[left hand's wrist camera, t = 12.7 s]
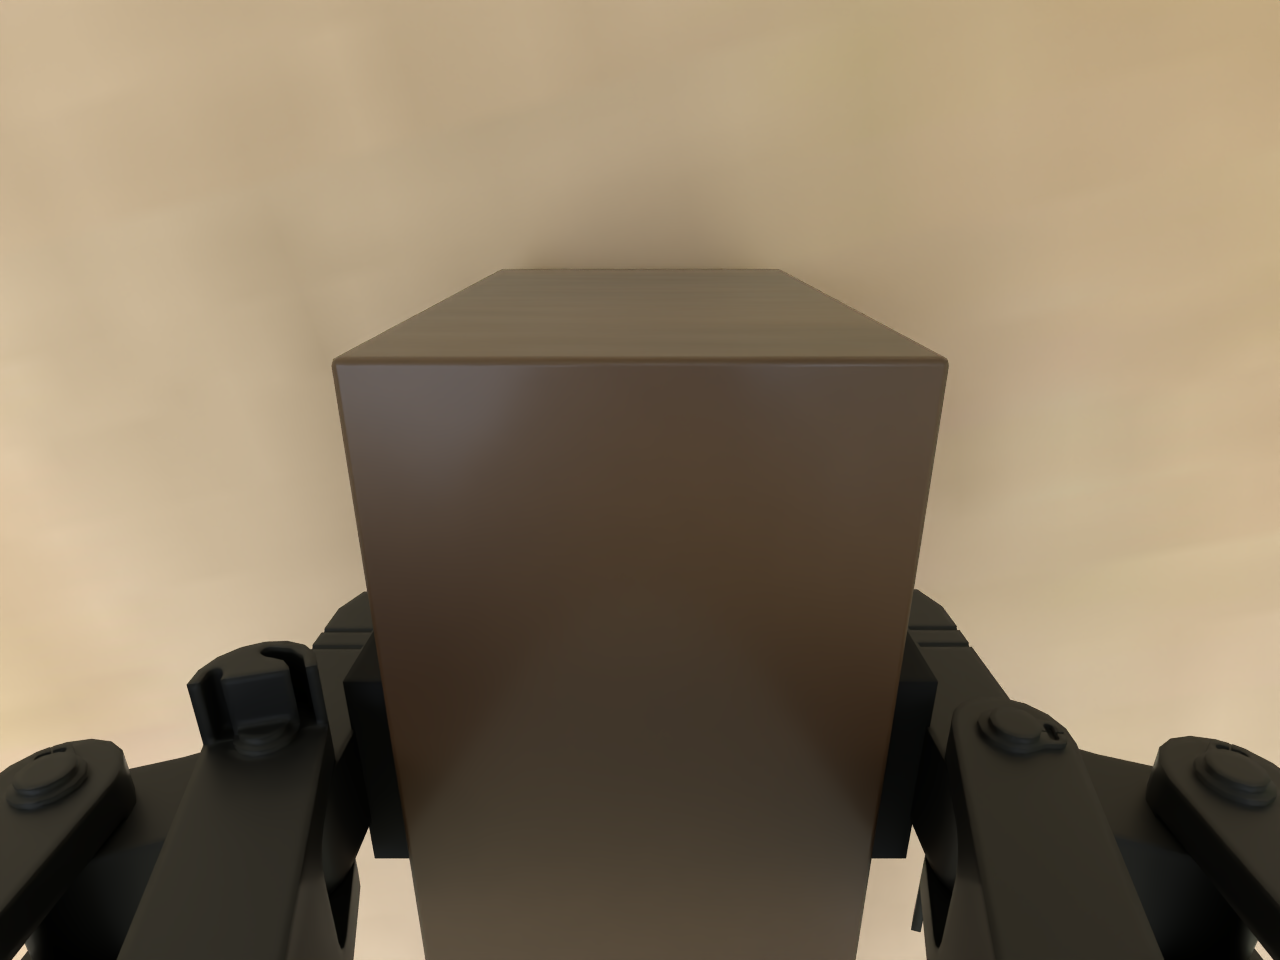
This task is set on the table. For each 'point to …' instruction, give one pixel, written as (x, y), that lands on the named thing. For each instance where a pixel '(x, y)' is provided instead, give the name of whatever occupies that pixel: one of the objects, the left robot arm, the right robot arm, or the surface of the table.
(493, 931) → the beam
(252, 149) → the table surface
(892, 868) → the table surface
